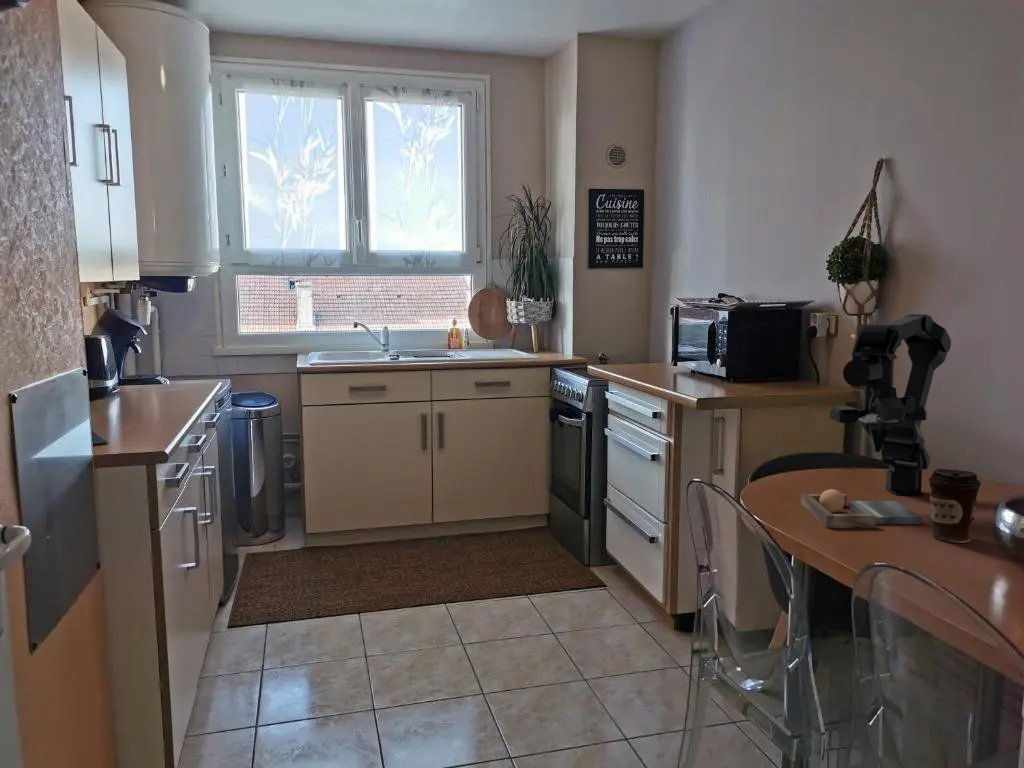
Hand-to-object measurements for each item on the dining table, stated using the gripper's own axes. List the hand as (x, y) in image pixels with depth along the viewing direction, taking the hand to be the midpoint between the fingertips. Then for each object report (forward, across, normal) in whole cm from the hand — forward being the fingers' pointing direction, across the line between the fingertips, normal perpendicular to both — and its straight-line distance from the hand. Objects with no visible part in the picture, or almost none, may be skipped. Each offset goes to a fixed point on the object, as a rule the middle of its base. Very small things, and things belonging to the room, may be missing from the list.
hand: (876, 451), depth 170 cm
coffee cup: (+12, +3, -24) cm, 27 cm away
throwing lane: (+12, -7, -9) cm, 16 cm away
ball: (+9, -12, -6) cm, 16 cm away
